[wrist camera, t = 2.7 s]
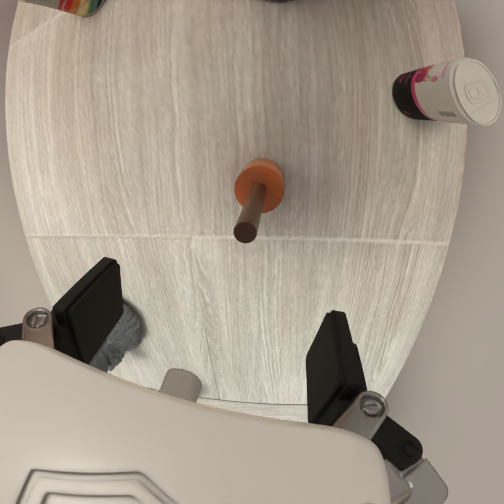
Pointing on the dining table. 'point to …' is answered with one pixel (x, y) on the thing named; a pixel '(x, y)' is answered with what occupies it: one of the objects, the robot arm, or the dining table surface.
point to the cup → (181, 385)
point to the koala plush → (118, 341)
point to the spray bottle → (71, 5)
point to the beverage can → (450, 93)
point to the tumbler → (278, 0)
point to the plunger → (257, 196)
